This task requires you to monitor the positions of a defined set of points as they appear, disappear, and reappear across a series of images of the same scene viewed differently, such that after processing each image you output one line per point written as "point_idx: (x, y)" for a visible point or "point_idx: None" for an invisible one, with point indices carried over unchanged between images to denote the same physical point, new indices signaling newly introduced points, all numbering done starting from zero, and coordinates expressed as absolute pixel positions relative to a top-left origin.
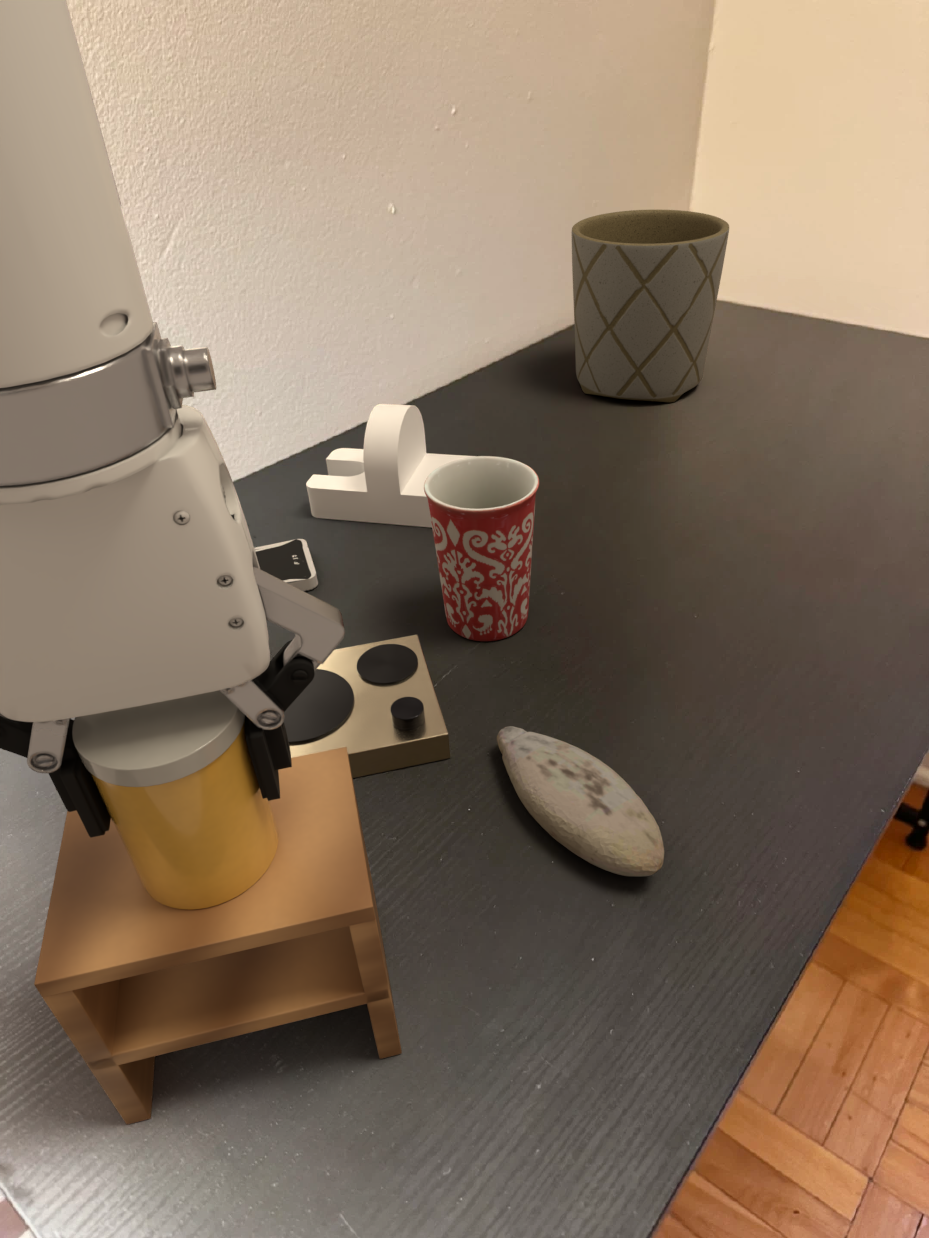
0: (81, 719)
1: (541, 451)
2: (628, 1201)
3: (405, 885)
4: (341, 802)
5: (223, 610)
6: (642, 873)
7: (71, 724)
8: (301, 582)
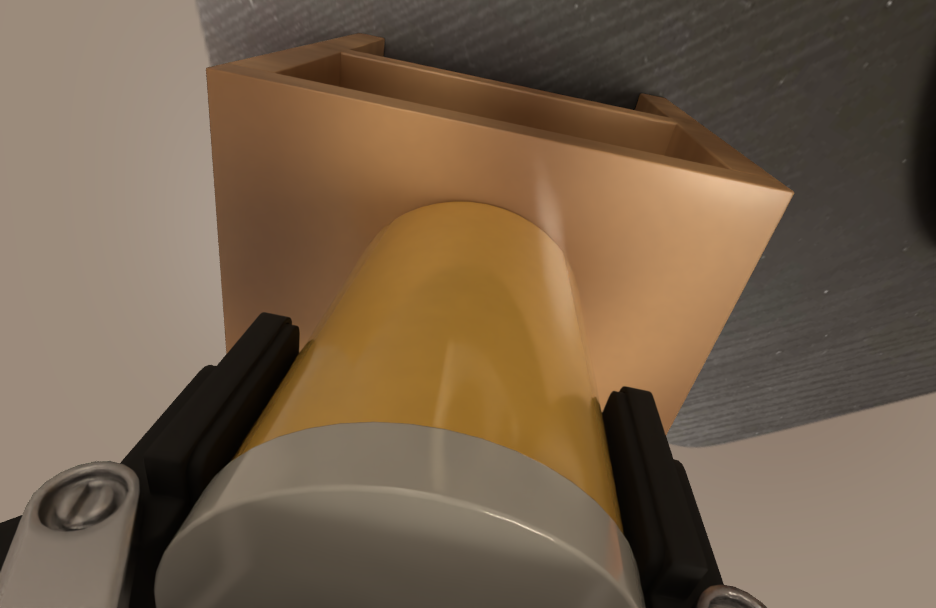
0: (176, 605)
1: None
2: (689, 439)
3: (710, 101)
4: (701, 319)
5: None
6: None
7: (150, 555)
8: None
